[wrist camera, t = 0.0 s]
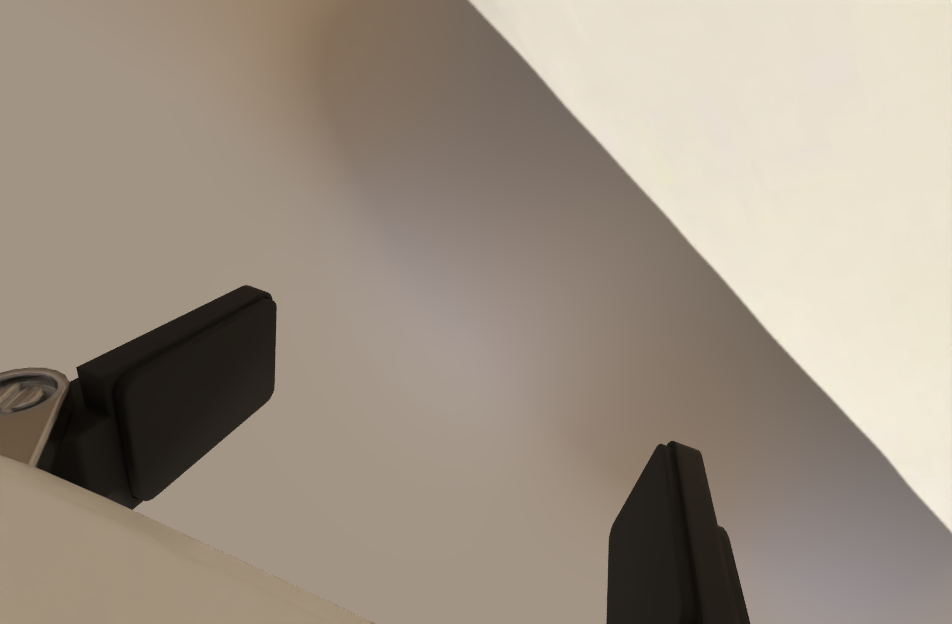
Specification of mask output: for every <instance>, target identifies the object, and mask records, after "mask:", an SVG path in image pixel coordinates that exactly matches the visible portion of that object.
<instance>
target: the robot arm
mask: <svg viewBox="0 0 952 624" xmlns="http://www.w3.org/2000/svg"><path fill="white" fill-rule="evenodd" d="M275 344H276V303H275V302H274V301H272V297H271V295H270V294H269V293H268V292H265V291H262V290H259V289H257V288H254V287H251V286H247V285H245V286H242V287H240V288H238V289H236V290H234V291H232V292H230V293H227V294H225V295H223V296H221V297H219V298H217V299H215V300H213V301H211V302H209V303H207V304H205V305H203V306H201V307H199V308H197V309H195V310H193V311H191V312H189V313H187V314H185V315H183V316H180V317H178V318H176V319H175V320H172V321H170V322H168V323H166V324H164V325H162V326H160V327H158V328H156V329H154V330H152V331H150V332H148V333H146V334H144V335H142V336H140V337H138V338H136V339H134V340H132V341H130V342H127V343H125V344H123V345H121V346H120V347H117V348H115V349H113V350H111V351H109V352H107V353H105V354H103V355H101V356H99V357H97V358H95V359H93V360H91V361H89V362H87V363H84V364H83V365H80V366H78V367H76V368H77V372H78V377H79V378H77V379H75V380H73V381H71V382H69V381H68V379H67V377H66V376H65V375H64V374H62V373H60V372H58V371H56V370H52V369H47V368H23V369H14V370H10V371H6V372H2V373H0V624H375V623H373V622H371V621H369V620H367V619H365V618H363V617H361V616H358V615H356V614H354V613H352V612H350V611H348V610H346V609H344V608H341V607H339V606H337V605H335V604H333V603H331V602H328V601H326V600H325V599H322V598H320V597H318V596H316V595H314V594H312V593H310V592H307V591H305V590H303V589H301V588H299V587H297V586H295V585H293V584H290V583H288V582H286V581H284V580H282V579H280V578H278V577H275V576H273V575H271V574H269V573H267V572H265V571H263V570H261V569H258V568H256V567H254V566H252V565H250V564H248V563H246V562H243V561H241V560H239V559H237V558H235V557H233V556H231V555H228V554H226V553H224V552H222V551H220V550H218V549H216V548H213V547H211V546H209V545H207V544H204V543H202V542H200V541H198V540H196V539H194V538H192V537H190V536H187V535H185V534H183V533H181V532H179V531H177V530H174V529H172V528H170V527H168V526H166V525H164V524H161V523H159V522H157V521H154V520H153V519H151V518H148V517H146V516H144V515H142V514H140V513H138V512H135V511H133V509H134V508H135V507H136V506H137V505H139V504H140V503H141V502H142V501H149V500H151V499H153V498H154V497H155V496H157V495H158V494H159V493H160V492H162V491H163V490H164V489H165V488H166V487H168V486H169V485H170V484H171V483H172V482H173V481H174V480H176V479H177V478H178V477H179V476H181V475H182V474H183V473H184V472H185V471H186V470H187V469H189V468H190V467H191V466H192V465H193V464H195V463H196V462H197V461H198V460H199V459H201V458H202V457H203V456H204V455H205V454H206V453H207V452H209V451H210V450H211V449H212V448H213V447H214V446H216V445H217V444H218V443H219V442H220V441H222V440H223V439H224V438H225V437H226V436H228V435H229V434H230V433H231V432H232V431H233V430H235V429H236V428H237V427H238V426H239V425H240V424H242V423H243V422H244V421H245V420H246V419H248V417H250V416H251V415H252V414H253V413H255V412H256V411H257V410H258V409H259V408H260V407H262V406H263V405H264V404H265V403H266V402H267V401H268V400H269V399H270V398H271V396H272V394H273V391H274V383H275V346H276V345H275ZM105 497H106V498H105ZM608 556H609V557H608V558H609V559H608V592H607V624H750V621H749V617H748V613H747V609H746V604H745V601H744V596H743V592H742V588H741V584H740V580H739V576H738V572H737V568H736V564H735V560H734V556H733V553H732V548H731V544H730V540H729V537H728V534H727V532H726V531H725V530H724V528H723V527H720V526H718V525H717V520H716V516H715V512H714V507H713V503H712V498H711V494H710V489H709V485H708V481H707V477H706V472H705V467H704V463H703V459H702V455H701V452H700V451H699V450H696V449H694V448H691V447H688V446H685V445H683V444H680V443H677V442H675V441H670V442H669V443H668V444H667V446H666V445H663V444H659V445H658V446H657V447H656V449H655V451H654V452H653V454H652V456H651V458H650V460H649V461H648V463H647V465H646V467H645V468H644V470H643V472H642V474H641V476H640V477H639V479H638V481H637V483H636V484H635V486H634V488H633V490H632V492H631V493H630V495H629V497H628V499H627V500H626V502H625V504H624V506H623V507H622V509H621V511H620V513H619V514H618V516H617V518H616V520H615V521H614V523H613V525H612V528H611V532H610V536H609V555H608Z"/></svg>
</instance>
